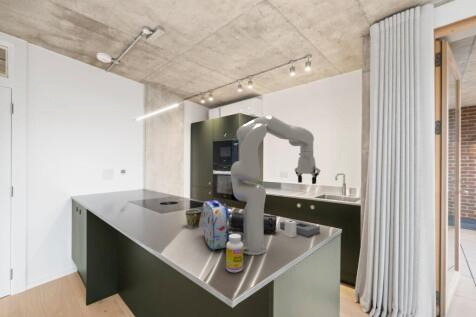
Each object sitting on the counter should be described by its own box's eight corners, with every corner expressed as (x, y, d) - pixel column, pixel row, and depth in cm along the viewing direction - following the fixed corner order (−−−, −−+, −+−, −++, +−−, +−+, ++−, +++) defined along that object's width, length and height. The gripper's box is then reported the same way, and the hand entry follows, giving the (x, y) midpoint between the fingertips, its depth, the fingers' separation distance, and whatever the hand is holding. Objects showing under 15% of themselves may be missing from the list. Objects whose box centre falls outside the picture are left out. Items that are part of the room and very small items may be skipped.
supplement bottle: (232, 275, 79) (232, 240, 79) (222, 267, 84) (223, 235, 85) (246, 269, 83) (246, 236, 83) (236, 263, 88) (236, 232, 89)
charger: (291, 237, 119) (291, 222, 119) (284, 235, 122) (284, 221, 122) (296, 236, 121) (296, 221, 122) (289, 233, 125) (289, 219, 125)
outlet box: (307, 237, 119) (307, 230, 119) (280, 228, 134) (280, 222, 134) (319, 233, 126) (319, 226, 126) (292, 225, 142) (292, 219, 142)
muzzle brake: (275, 235, 122) (275, 217, 122) (227, 231, 128) (228, 213, 128) (276, 230, 131) (276, 213, 131) (232, 226, 138) (232, 210, 138)
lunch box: (234, 252, 99) (234, 204, 99) (212, 255, 95) (212, 206, 96) (218, 233, 125) (218, 195, 125) (200, 235, 121) (200, 196, 121)
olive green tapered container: (183, 225, 140) (183, 210, 140) (198, 223, 144) (198, 208, 144) (187, 231, 128) (188, 214, 128) (204, 229, 133) (204, 213, 133)
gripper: (291, 155, 134) (291, 182, 134) (316, 154, 120) (316, 184, 120) (298, 155, 138) (298, 181, 138) (323, 154, 125) (323, 184, 125)
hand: (306, 183), depth 129 cm, fingers open, 9 cm apart
